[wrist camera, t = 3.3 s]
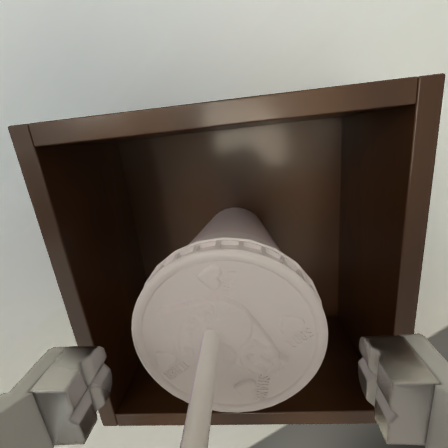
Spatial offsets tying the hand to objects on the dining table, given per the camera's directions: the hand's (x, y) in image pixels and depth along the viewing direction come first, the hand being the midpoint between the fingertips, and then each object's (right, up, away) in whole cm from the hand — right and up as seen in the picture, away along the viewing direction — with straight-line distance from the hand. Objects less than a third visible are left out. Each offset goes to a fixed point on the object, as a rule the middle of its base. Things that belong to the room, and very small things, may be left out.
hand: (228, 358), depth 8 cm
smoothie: (+1, +3, +10) cm, 11 cm away
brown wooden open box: (+1, +3, +10) cm, 11 cm away
